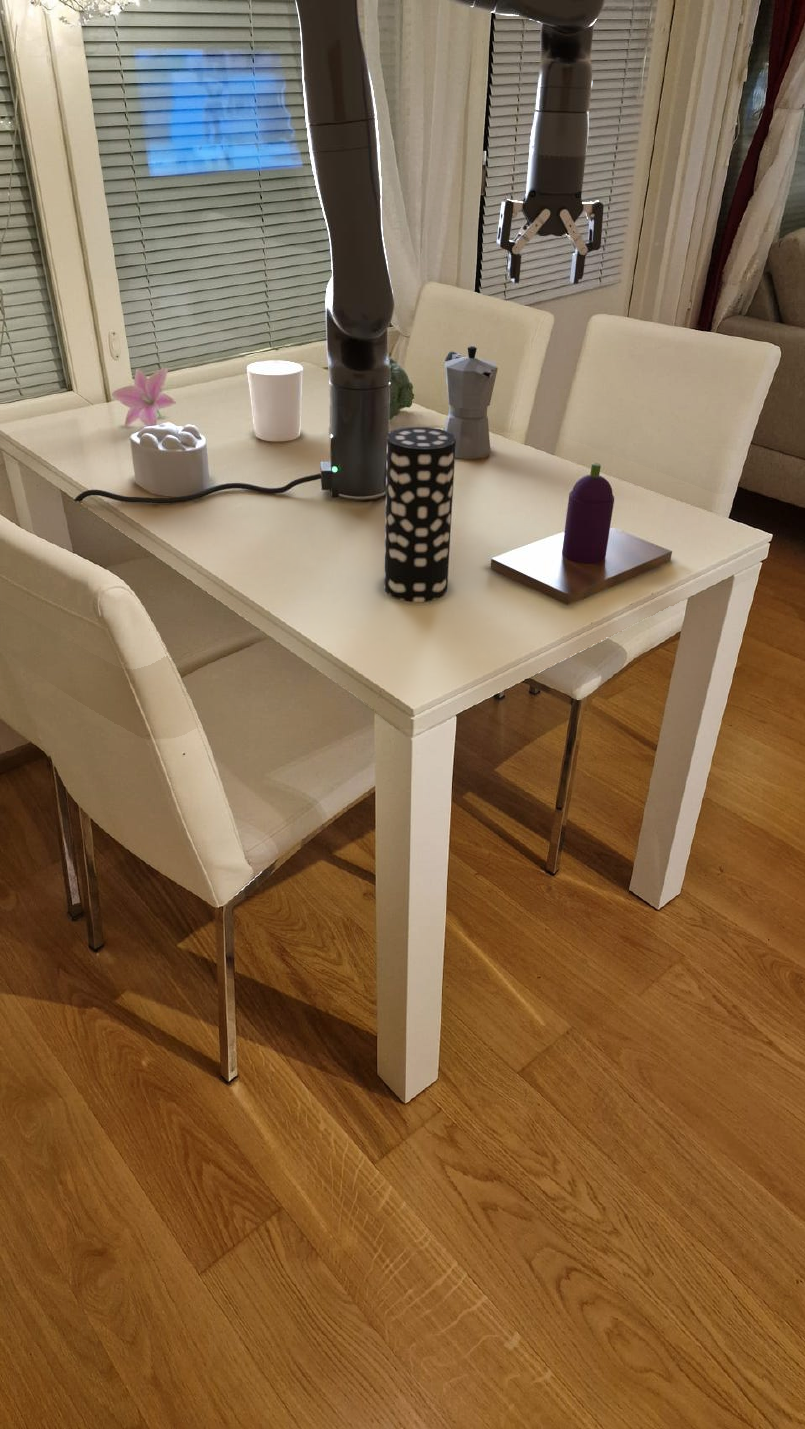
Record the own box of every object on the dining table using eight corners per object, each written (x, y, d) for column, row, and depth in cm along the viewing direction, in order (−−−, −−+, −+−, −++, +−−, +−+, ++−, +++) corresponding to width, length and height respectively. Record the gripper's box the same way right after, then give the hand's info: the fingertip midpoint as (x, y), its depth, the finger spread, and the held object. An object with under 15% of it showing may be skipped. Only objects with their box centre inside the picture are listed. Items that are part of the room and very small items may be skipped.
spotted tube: (382, 574, 132) (384, 427, 121) (443, 573, 133) (451, 427, 122) (386, 602, 125) (389, 449, 114) (450, 601, 126) (460, 449, 115)
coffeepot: (506, 459, 172) (516, 353, 162) (459, 466, 169) (465, 358, 159) (465, 433, 184) (472, 333, 174) (420, 439, 180) (424, 336, 170)
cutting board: (567, 605, 126) (569, 594, 125) (490, 568, 135) (491, 558, 134) (670, 561, 138) (672, 551, 138) (593, 529, 147) (594, 520, 146)
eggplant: (567, 564, 133) (579, 472, 126) (557, 546, 138) (568, 457, 131) (610, 563, 134) (625, 472, 127) (598, 545, 139) (611, 456, 132)
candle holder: (315, 433, 182) (313, 366, 175) (282, 447, 175) (279, 378, 168) (273, 423, 186) (270, 357, 179) (239, 436, 179) (235, 368, 172)
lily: (113, 422, 187) (96, 384, 179) (163, 389, 190) (148, 350, 182) (149, 456, 183) (133, 419, 174) (199, 422, 186) (186, 384, 177)
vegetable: (439, 404, 191) (407, 386, 178) (390, 447, 196) (356, 432, 182) (406, 357, 193) (373, 335, 180) (359, 400, 198) (323, 382, 185)
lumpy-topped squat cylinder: (183, 465, 165) (177, 414, 160) (225, 487, 157) (221, 434, 152) (127, 479, 159) (120, 426, 155) (168, 502, 151) (162, 447, 147)
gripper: (510, 152, 126) (500, 287, 135) (618, 155, 128) (600, 288, 137) (499, 148, 133) (490, 277, 142) (602, 150, 134) (586, 278, 143)
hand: (544, 282), depth 139 cm, fingers open, 8 cm apart
